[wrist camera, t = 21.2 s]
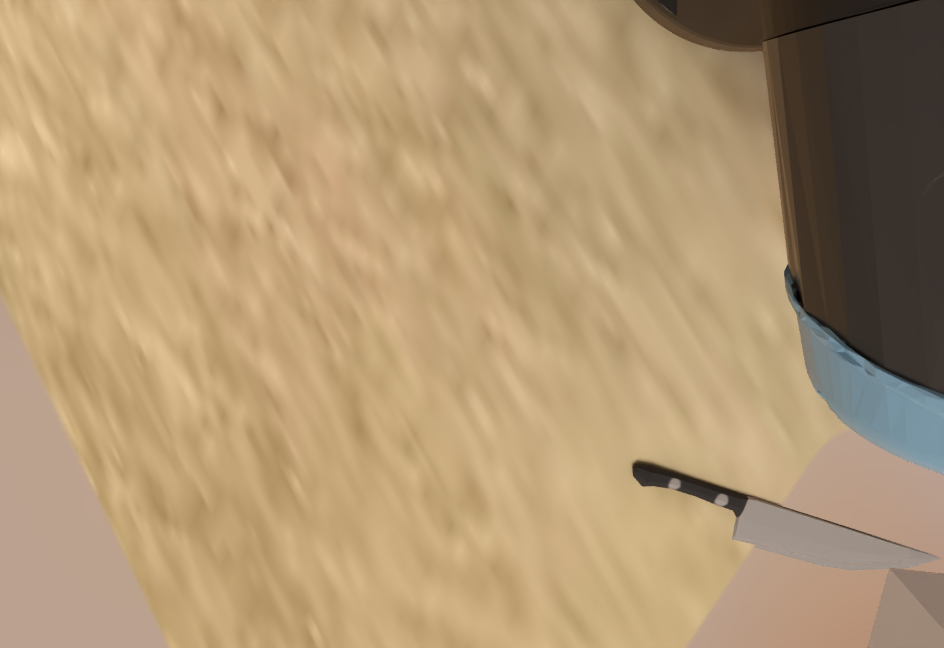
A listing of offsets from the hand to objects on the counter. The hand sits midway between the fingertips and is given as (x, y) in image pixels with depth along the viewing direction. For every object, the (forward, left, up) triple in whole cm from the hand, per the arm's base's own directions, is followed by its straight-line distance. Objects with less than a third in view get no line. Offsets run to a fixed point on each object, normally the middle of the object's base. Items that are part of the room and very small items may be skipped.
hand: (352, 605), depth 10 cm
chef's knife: (-20, +15, -32) cm, 41 cm away
